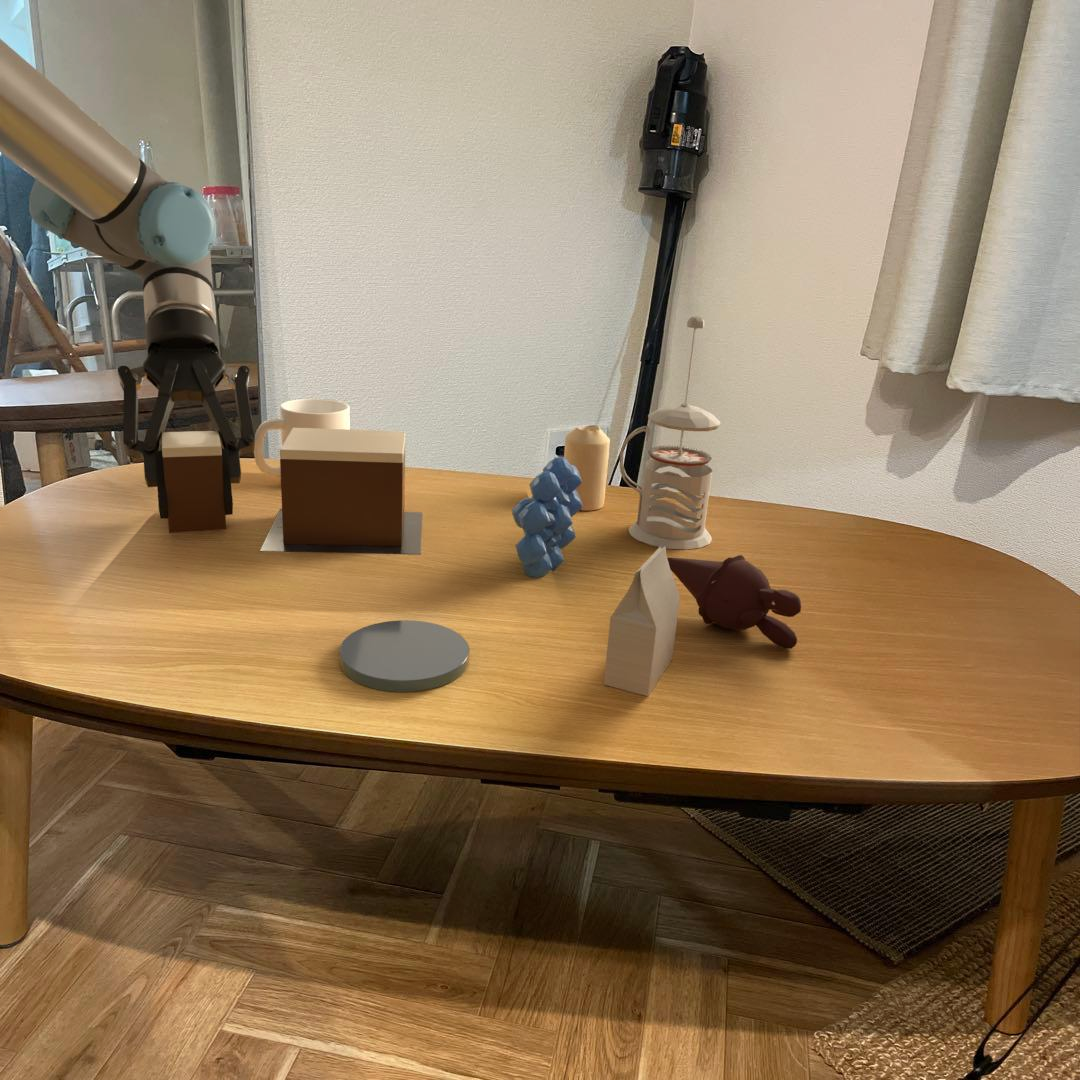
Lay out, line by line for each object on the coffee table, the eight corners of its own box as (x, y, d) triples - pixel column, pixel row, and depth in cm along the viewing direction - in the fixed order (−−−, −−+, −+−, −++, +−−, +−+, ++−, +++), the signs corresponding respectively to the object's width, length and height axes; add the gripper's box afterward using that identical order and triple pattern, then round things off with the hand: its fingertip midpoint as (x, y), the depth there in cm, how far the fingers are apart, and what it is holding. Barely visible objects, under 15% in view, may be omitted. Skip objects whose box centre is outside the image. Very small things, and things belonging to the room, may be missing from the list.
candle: (581, 494, 117) (587, 419, 114) (612, 505, 114) (620, 428, 110) (551, 502, 113) (557, 424, 110) (583, 514, 110) (590, 434, 106)
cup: (361, 489, 113) (360, 410, 110) (268, 502, 106) (264, 418, 103) (334, 472, 119) (332, 396, 116) (244, 483, 112) (240, 403, 109)
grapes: (532, 547, 98) (539, 440, 94) (589, 560, 96) (599, 451, 92) (482, 582, 88) (487, 465, 84) (544, 598, 86) (553, 478, 82)
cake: (283, 544, 92) (279, 449, 88) (295, 514, 100) (292, 427, 97) (401, 546, 93) (402, 453, 90) (404, 517, 102) (405, 431, 98)
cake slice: (169, 541, 93) (161, 448, 90) (169, 520, 99) (161, 432, 95) (226, 537, 95) (221, 446, 92) (223, 517, 101) (217, 430, 97)
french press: (712, 553, 100) (745, 325, 91) (609, 541, 102) (631, 315, 93) (711, 525, 109) (741, 315, 100) (616, 514, 111) (637, 306, 102)
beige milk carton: (671, 660, 76) (686, 550, 72) (648, 696, 70) (662, 578, 66) (630, 649, 77) (642, 541, 73) (603, 684, 71) (615, 568, 68)
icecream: (639, 545, 83) (776, 616, 73) (691, 513, 87) (827, 576, 77) (639, 604, 87) (769, 678, 77) (689, 571, 91) (818, 637, 81)
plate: (333, 692, 67) (332, 680, 67) (345, 629, 77) (345, 619, 77) (471, 692, 69) (472, 680, 68) (466, 630, 78) (467, 620, 78)
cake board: (260, 560, 90) (259, 550, 90) (280, 516, 102) (280, 508, 102) (420, 563, 92) (420, 554, 92) (422, 520, 104) (422, 512, 104)
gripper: (266, 346, 107) (287, 520, 99) (94, 345, 101) (101, 532, 92) (269, 306, 101) (291, 489, 93) (85, 302, 94) (91, 499, 86)
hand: (196, 510), depth 93 cm, fingers closed on cake slice, 6 cm apart
